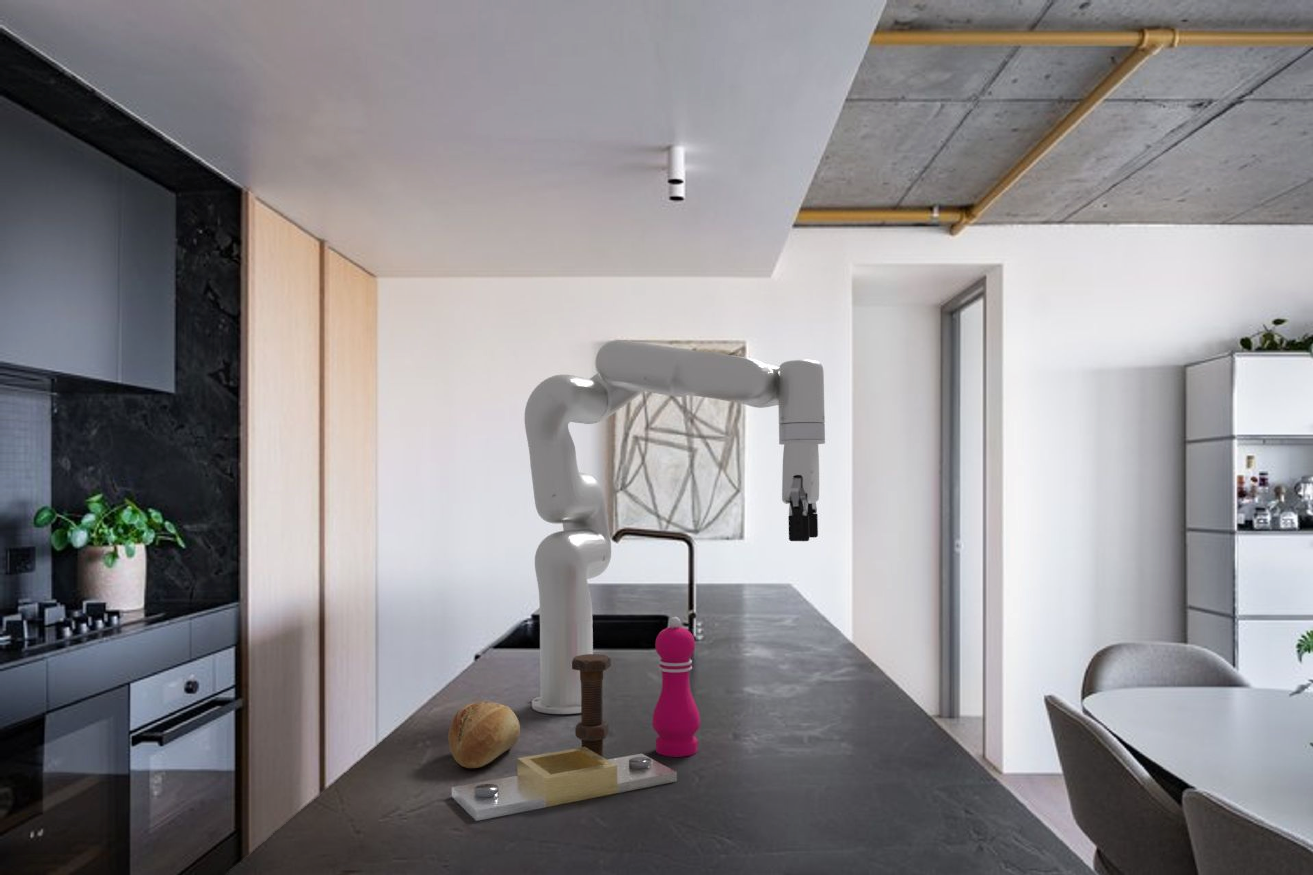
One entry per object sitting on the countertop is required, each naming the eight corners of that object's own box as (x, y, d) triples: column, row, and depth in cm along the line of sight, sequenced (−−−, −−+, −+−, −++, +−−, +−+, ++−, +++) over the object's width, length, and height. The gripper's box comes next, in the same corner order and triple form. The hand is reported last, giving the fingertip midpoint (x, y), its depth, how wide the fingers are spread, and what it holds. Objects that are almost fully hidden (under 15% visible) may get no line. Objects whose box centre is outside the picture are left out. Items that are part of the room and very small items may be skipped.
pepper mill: (706, 746, 140) (704, 614, 141) (692, 760, 133) (690, 621, 134) (661, 742, 142) (659, 612, 143) (645, 755, 135) (644, 619, 136)
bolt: (604, 768, 130) (603, 661, 130) (569, 766, 131) (569, 660, 131) (614, 756, 135) (613, 653, 136) (581, 754, 136) (580, 652, 137)
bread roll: (433, 773, 128) (433, 716, 129) (469, 743, 143) (469, 691, 144) (499, 775, 127) (499, 717, 128) (529, 745, 142) (529, 693, 142)
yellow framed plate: (451, 796, 119) (451, 769, 119) (641, 761, 132) (641, 737, 133) (476, 820, 110) (476, 791, 110) (677, 781, 124) (676, 754, 124)
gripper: (788, 438, 161) (789, 535, 160) (769, 433, 144) (771, 542, 144) (831, 436, 159) (833, 536, 158) (817, 432, 142) (819, 542, 141)
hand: (803, 539), depth 151 cm, fingers open, 9 cm apart
